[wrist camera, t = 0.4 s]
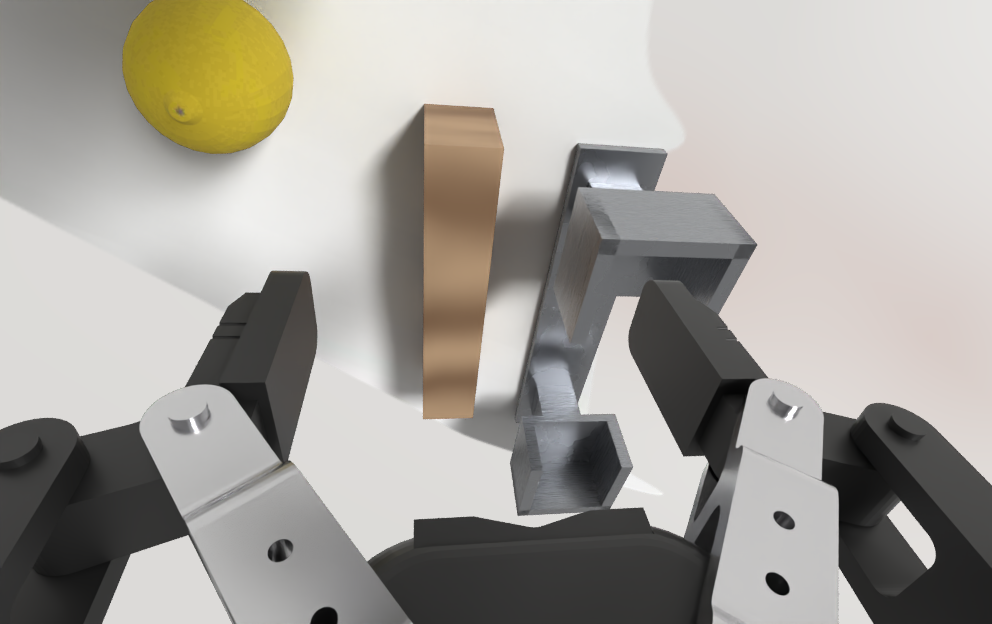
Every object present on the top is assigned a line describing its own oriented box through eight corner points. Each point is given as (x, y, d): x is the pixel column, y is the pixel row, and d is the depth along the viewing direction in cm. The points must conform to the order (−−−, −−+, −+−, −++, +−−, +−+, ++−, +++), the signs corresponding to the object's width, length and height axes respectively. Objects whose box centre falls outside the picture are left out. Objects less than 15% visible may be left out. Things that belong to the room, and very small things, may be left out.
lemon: (319, 105, 25) (286, 185, 19) (200, 107, 24) (129, 189, 18) (290, -29, 21) (239, 17, 15) (150, -31, 20) (39, 17, 14)
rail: (424, 102, 25) (424, 144, 22) (492, 106, 26) (503, 148, 22) (423, 365, 39) (422, 419, 35) (468, 365, 39) (472, 417, 35)
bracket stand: (559, 142, 27) (603, 234, 21) (681, 150, 28) (759, 240, 22) (503, 417, 44) (517, 516, 37) (580, 415, 45) (608, 512, 38)
